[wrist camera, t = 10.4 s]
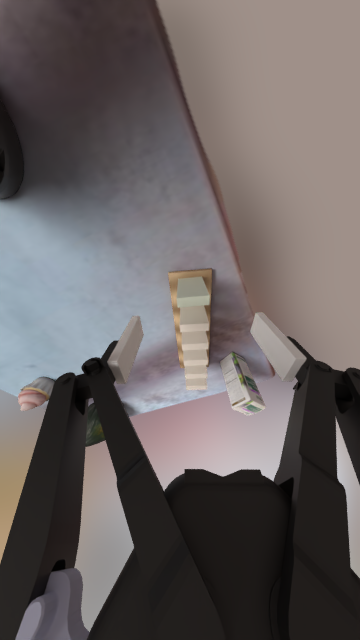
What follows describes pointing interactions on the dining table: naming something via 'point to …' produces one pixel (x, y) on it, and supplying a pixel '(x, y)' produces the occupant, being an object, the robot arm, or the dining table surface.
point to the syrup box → (241, 385)
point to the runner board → (173, 283)
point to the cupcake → (35, 393)
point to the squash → (93, 427)
